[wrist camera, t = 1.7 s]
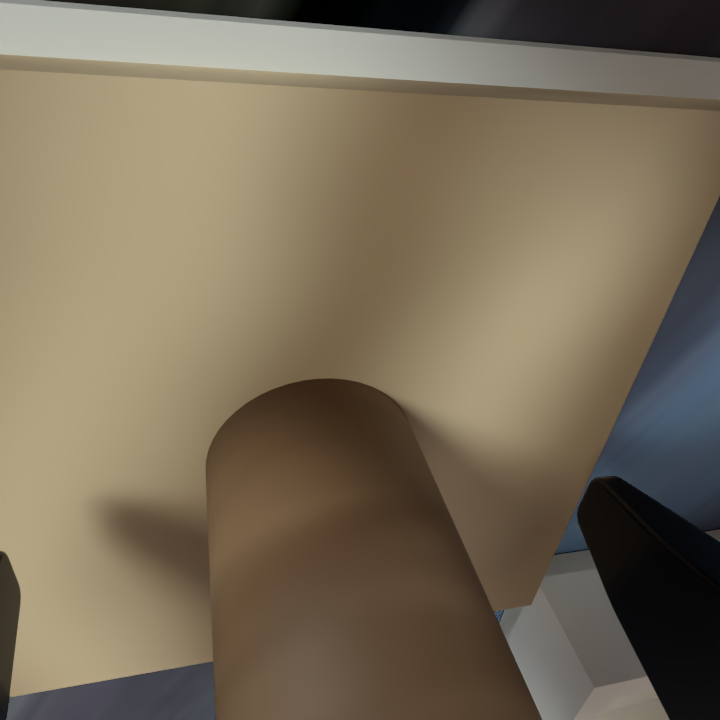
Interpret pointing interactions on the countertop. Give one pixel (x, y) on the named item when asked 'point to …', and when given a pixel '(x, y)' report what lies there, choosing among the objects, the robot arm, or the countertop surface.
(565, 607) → the dish
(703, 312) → the countertop surface
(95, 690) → the countertop surface
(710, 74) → the mat
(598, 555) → the robot arm
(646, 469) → the countertop surface
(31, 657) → the lid
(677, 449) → the countertop surface
